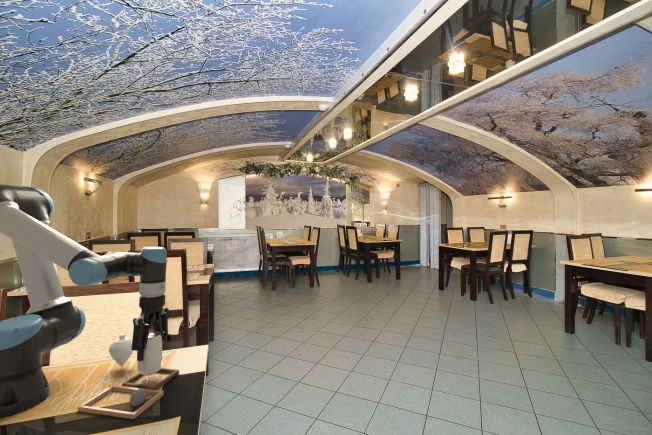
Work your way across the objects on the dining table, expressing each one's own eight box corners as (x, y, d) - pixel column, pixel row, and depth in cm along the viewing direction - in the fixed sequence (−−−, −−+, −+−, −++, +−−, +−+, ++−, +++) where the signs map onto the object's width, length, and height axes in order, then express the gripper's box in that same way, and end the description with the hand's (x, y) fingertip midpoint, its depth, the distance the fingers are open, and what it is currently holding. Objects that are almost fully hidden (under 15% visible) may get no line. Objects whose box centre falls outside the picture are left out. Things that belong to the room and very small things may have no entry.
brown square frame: (122, 387, 100) (122, 383, 100) (149, 370, 112) (149, 366, 112) (155, 391, 98) (155, 387, 98) (179, 373, 110) (179, 369, 110)
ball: (126, 408, 89) (126, 393, 89) (137, 400, 93) (137, 386, 93) (138, 409, 89) (138, 395, 89) (149, 401, 93) (149, 387, 93)
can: (150, 377, 101) (152, 339, 101) (133, 374, 102) (134, 336, 102) (165, 367, 107) (166, 332, 107) (148, 365, 109) (149, 329, 109)
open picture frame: (77, 411, 88) (77, 406, 88) (113, 389, 99) (113, 385, 99) (133, 419, 85) (133, 414, 85) (163, 395, 96) (163, 391, 96)
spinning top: (118, 363, 117) (119, 330, 117) (139, 363, 116) (139, 330, 116) (103, 373, 109) (103, 338, 109) (125, 374, 109) (125, 338, 109)
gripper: (140, 302, 95) (137, 380, 95) (181, 289, 114) (178, 354, 114) (118, 300, 96) (115, 377, 96) (162, 287, 115) (160, 351, 115)
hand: (149, 364), depth 105 cm, fingers closed on can, 6 cm apart
